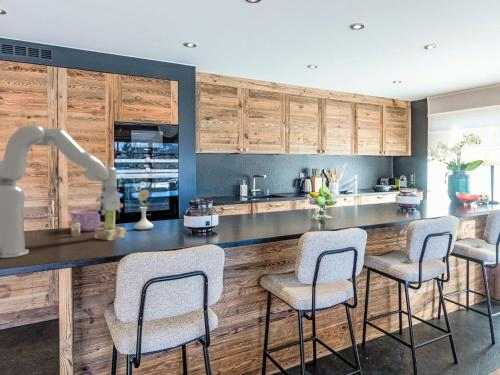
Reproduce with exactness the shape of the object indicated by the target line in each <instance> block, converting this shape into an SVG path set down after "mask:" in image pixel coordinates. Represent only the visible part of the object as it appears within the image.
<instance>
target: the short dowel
mask: <svg viewBox="0 0 500 375" xmlns="http://www.w3.org/2000/svg"><path fill="white" fill-rule="evenodd" d="M70 226H71V232H70V233H71V237H72V238H73V237H75V238H76V237H81V229H80V223H73V222H72V223H71V224H70Z"/></svg>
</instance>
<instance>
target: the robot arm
mask: <svg viewBox="0 0 500 375" xmlns="http://www.w3.org/2000/svg"><path fill="white" fill-rule="evenodd" d="M32 146H42V147H43V146H44V147H55V148H56V149H57V150H58V151H59V152H61V154H62V155H64V156H65V158H67V159H68V161H71V163H74V164H77V165H79V166H82V167H83V168H84V169H86V170H85V171H84V176H85V178H86V179H87V180H88V181H92V182H101V188H100V191H101V193H100V197H99V204H98V205H97V206H95V208H94V209H96V210H97V212H98V213H99V215H100V222H103V223H104V222H105V215H104V213H105V212H106V211H112V210H115V221H116V220H118V221H120V220H121V219H120V218H121V216H120V215H121V212H122V210H123V207H124V203H122V202H121V200H120V195H119V192H118V189H117V184H118V183H117V182H118V181H117V169H116V167H113V166H109V167H108V166H105V165H104V164H103V163H102V162H101V160H99V159H98V158H97V157H95V156H94V155H93V154H91V153H89V152H88V151H87V150H85V149H84V148H82V147H81V145H80V144H78V143H77V141H76V140H74V139H73V137H72V136H71V135H70V134H69V133H68V132H67V131H66V130H65V129H63V128H60V127H54V128H43V127H42V126H40V125H37V124H29V125H28V124H27V125H24V126H20V127H19V128H17V129H16V131H15V132H14V133H13V134H12V135H11V136H10V137H9V138H8V141H7V142H6V145H5V150H4V155H3V160H0V259H8V258H17V257H22V256H25V255H27V254H29V253H30V250H29V249H27V248H26V244H25V243H26V242H25V223H24V222H25V221H24V220H25V219H24V205H25V192H24V190H23V189H22V188H21V187H20V186H18V185H16V183H17V181H20V180H22V179H23V178H24V176H25V173H26V167H27V159H28V154H29V151H30V149H31V147H32Z"/></svg>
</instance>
